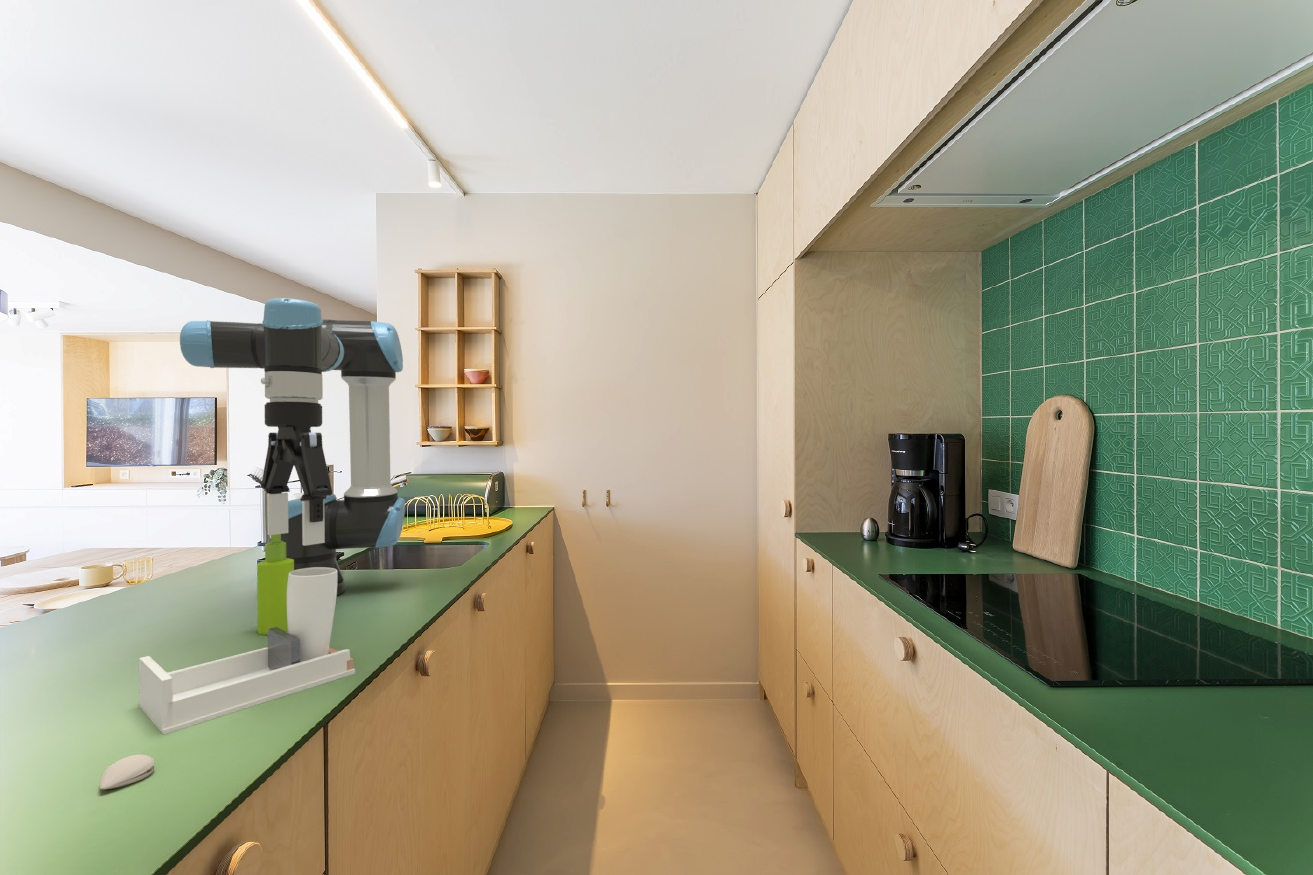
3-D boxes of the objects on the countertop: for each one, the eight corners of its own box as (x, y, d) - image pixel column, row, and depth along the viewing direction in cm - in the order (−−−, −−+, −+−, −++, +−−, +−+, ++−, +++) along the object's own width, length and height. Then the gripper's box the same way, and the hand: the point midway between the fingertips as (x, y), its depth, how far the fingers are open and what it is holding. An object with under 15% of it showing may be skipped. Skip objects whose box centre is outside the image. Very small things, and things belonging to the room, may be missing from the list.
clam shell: (164, 771, 63) (163, 749, 63) (123, 800, 58) (123, 776, 58) (124, 772, 63) (124, 749, 63) (80, 801, 58) (79, 776, 58)
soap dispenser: (260, 638, 104) (259, 530, 104) (255, 628, 109) (255, 525, 109) (297, 631, 108) (297, 526, 108) (291, 622, 113) (290, 522, 113)
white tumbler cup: (278, 665, 89) (284, 569, 89) (327, 656, 94) (332, 565, 94) (286, 679, 84) (292, 578, 84) (337, 669, 88) (343, 572, 89)
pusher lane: (319, 654, 96) (319, 614, 96) (355, 674, 88) (354, 630, 88) (138, 706, 78) (138, 657, 78) (163, 736, 70) (163, 681, 70)
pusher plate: (276, 664, 90) (276, 626, 90) (300, 679, 84) (299, 638, 84) (268, 666, 89) (267, 628, 89) (291, 682, 83) (290, 641, 83)
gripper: (237, 403, 92) (238, 533, 92) (300, 397, 77) (301, 553, 77) (289, 404, 98) (290, 527, 98) (357, 399, 83) (357, 544, 83)
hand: (295, 538), depth 88 cm, fingers open, 13 cm apart
